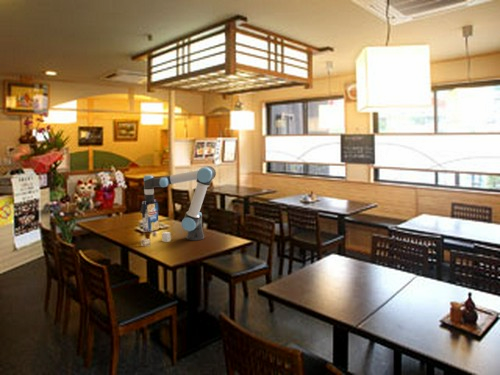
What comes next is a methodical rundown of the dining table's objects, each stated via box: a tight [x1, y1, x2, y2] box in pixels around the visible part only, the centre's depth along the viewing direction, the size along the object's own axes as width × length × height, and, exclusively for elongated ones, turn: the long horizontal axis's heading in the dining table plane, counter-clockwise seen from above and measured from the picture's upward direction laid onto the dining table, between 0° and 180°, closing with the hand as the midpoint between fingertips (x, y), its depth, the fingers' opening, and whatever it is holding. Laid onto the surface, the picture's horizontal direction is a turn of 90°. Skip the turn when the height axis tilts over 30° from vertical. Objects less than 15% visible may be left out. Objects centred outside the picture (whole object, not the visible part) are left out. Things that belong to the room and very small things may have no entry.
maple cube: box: [140, 238, 151, 248], centre depth 293 cm, size 5×5×5 cm
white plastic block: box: [161, 231, 172, 243], centre depth 307 cm, size 5×5×7 cm
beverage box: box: [141, 202, 160, 232], centre depth 304 cm, size 7×11×22 cm, turn 146°
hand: (150, 220), depth 304 cm, fingers closed on beverage box, 11 cm apart
